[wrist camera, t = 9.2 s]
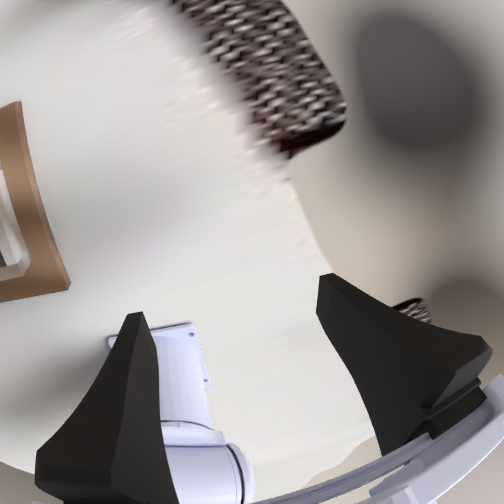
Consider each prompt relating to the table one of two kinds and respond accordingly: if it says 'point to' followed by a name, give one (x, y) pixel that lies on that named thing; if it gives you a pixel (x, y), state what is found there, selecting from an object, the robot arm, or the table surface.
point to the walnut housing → (24, 219)
